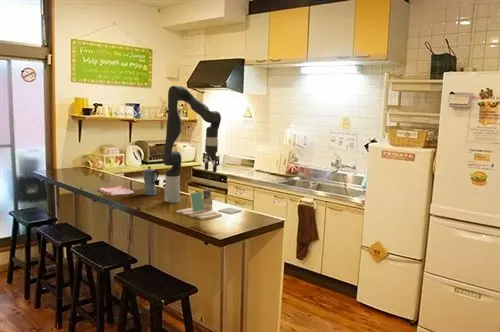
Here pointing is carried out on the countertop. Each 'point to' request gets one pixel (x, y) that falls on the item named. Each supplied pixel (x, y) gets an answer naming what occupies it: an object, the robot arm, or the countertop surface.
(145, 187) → the moka pot
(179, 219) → the countertop surface
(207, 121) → the robot arm
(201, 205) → the tile
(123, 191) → the dish towel
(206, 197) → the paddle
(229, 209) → the mat
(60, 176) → the countertop surface
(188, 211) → the board
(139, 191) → the countertop surface
